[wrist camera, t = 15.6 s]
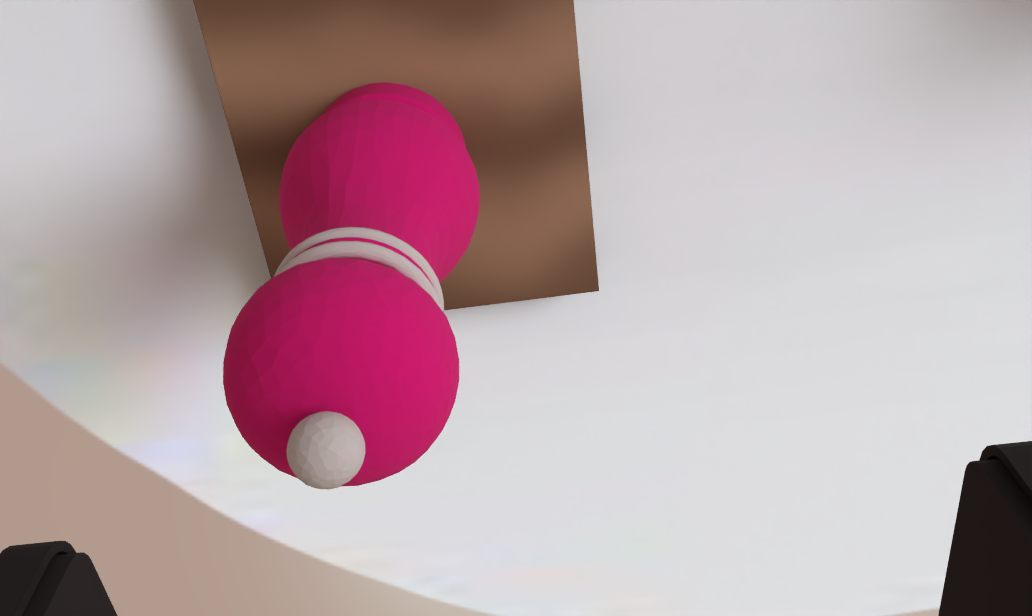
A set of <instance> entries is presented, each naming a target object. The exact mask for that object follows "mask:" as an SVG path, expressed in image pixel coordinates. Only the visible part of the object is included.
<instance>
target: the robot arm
mask: <svg viewBox="0 0 1032 616" xmlns="http://www.w3.org/2000/svg"><path fill="white" fill-rule="evenodd" d="M0 616H117V614H116V612H115V610H114V607H113V605H112V604H111V601H110V599H109V597H108V595H107V593H106V591H105V588H104V586H103V584H102V582H101V580H100V578H99V576H98V573H97V571H96V569H95V567H94V565H93V563H92V561H91V559H90V558H89V556H88V555H86V554H85V553H76V552H75V550H74V549H73V547H72V546H71V544H69V543H68V542H66V541H54V542H44V543H35V544H25V545H16V546H9V547H8V548H6V549H4V550H3V551H2V552H1V553H0ZM939 616H1032V441H1028V442H1019V443H1009V444H999V445H991V446H987V447H986V448H985V449H984V450H983V451H982V454H981V457H980V461H972V462H970V463H969V464H968V465H967V467H966V470H965V474H964V480H963V485H962V491H961V496H960V501H959V507H958V512H957V518H956V523H955V529H954V534H953V540H952V545H951V550H950V556H949V561H948V567H947V572H946V578H945V583H944V588H943V594H942V599H941V605H940V610H939Z"/></svg>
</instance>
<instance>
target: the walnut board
mask: <svg viewBox="0 0 1032 616" xmlns="http://www.w3.org/2000/svg"><path fill="white" fill-rule="evenodd" d="M193 1H194V4H195V8H196V12H197V15H198V19H199V22H200V26H201V29H202V33H203V37H204V40H205V44H206V47H207V51H208V54H209V58H210V61H211V65H212V69H213V72H214V76H215V79H216V83H217V86H218V90H219V94H220V97H221V101H222V104H223V108H224V111H225V115H226V118H227V122H228V126H229V129H230V133H231V136H232V140H233V143H234V147H235V151H236V154H237V158H238V161H239V165H240V168H241V172H242V176H243V179H244V183H245V186H246V190H247V193H248V197H249V200H250V204H251V208H252V211H253V215H254V218H255V222H256V225H257V229H258V233H259V236H260V240H261V243H262V247H263V250H264V254H265V257H266V261H267V265H268V268H269V272H270V275H271V279H272V278H273V277H274V275H275V273H276V271H277V269H278V267H279V265H280V264H281V262H282V261H283V260H284V258H285V257H286V256H287V254H288V253H289V252H290V251H291V249H290V247H289V245H288V242H287V239H286V236H285V233H284V229H283V225H282V221H281V216H280V210H279V189H280V184H281V179H282V174H283V169H284V165H285V162H286V160H287V157H288V154H289V152H290V150H291V148H292V147H293V145H294V143H295V141H296V140H297V139H298V137H299V136H300V135H301V134H302V133H303V131H304V130H305V129H306V128H307V127H308V126H309V125H311V124H312V123H313V122H314V121H315V120H316V119H318V118H319V117H320V116H321V115H323V114H324V112H325V111H326V110H327V108H328V107H329V106H330V105H331V104H332V103H334V102H335V101H336V100H337V99H338V98H339V97H341V96H342V95H344V94H345V93H347V92H349V91H351V90H353V89H355V88H358V87H361V86H365V85H368V84H373V83H384V82H389V83H396V84H402V85H407V86H410V87H413V88H416V89H419V90H421V91H423V92H425V93H427V94H429V95H430V96H432V97H433V98H435V99H436V100H437V101H439V102H440V103H441V104H442V105H443V106H444V107H445V108H446V109H447V110H448V112H449V113H450V114H451V115H452V116H453V117H454V119H455V121H456V122H457V124H458V126H459V128H460V129H461V131H462V134H463V137H464V141H465V144H466V149H467V151H468V153H469V156H470V158H471V160H472V162H473V165H474V167H475V170H476V174H477V177H478V181H479V190H480V205H479V214H478V219H477V223H476V227H475V230H474V233H473V236H472V239H471V242H470V245H469V247H468V248H467V250H466V252H465V253H464V255H463V256H462V258H461V259H460V261H459V262H458V263H457V265H456V266H455V267H454V269H453V270H452V271H451V272H450V274H449V275H448V276H447V277H446V278H444V279H443V280H442V281H441V282H440V286H441V289H442V294H443V299H444V310H450V309H458V308H466V307H474V306H482V305H490V304H498V303H506V302H514V301H522V300H530V299H538V298H546V297H554V296H562V295H570V294H578V293H586V292H594V291H599V286H598V275H597V264H596V252H595V241H594V229H593V218H592V207H591V195H590V184H589V173H588V161H587V150H586V138H585V127H584V116H583V104H582V93H581V81H580V70H579V59H578V47H577V36H576V25H575V13H574V2H573V0H193Z"/></svg>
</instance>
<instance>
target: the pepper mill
mask: <svg viewBox="0 0 1032 616" xmlns="http://www.w3.org/2000/svg"><path fill="white" fill-rule="evenodd" d="M479 205H480V190H479V181H478V177H477V174H476V170H475V167H474V165H473V162H472V160H471V158H470V156H469V153H468V151H467V149H466V144H465V141H464V137H463V134H462V131H461V129H460V128H459V126H458V124H457V122H456V121H455V119H454V117H453V116H452V115H451V114H450V113H449V112H448V110H447V109H446V108H445V107H444V106H443V105H442V104H441V103H440V102H439V101H437V100H436V99H435V98H433V97H432V96H430V95H429V94H427V93H425V92H423V91H421V90H419V89H416V88H413V87H410V86H407V85H402V84H396V83H389V82H384V83H373V84H368V85H365V86H361V87H358V88H355V89H353V90H351V91H349V92H347V93H345V94H344V95H342V96H341V97H339V98H338V99H337V100H336V101H335V102H334V103H332V104H331V105H330V106H329V107H328V108H327V110H326V111H325V112H324V114H323V115H321V116H320V117H319V118H318V119H316V120H315V121H314V122H313V123H312V124H311V125H309V126H308V127H307V128H306V129H305V130H304V131H303V133H302V134H301V135H300V136H299V137H298V139H297V140H296V141H295V143H294V145H293V147H292V148H291V150H290V152H289V154H288V157H287V160H286V162H285V165H284V169H283V174H282V179H281V184H280V189H279V210H280V216H281V221H282V225H283V229H284V233H285V236H286V239H287V242H288V245H289V247H290V249H291V251H290V252H289V253H288V254H287V256H286V257H285V258H284V260H283V261H282V262H281V264H280V265H279V267H278V269H277V271H276V273H275V275H274V277H273V278H272V279H270V280H269V281H268V282H267V283H265V284H264V285H263V286H262V287H260V288H259V289H258V290H257V291H256V292H255V293H254V295H253V296H252V297H251V298H250V300H249V301H248V302H247V303H246V305H245V306H244V307H243V308H242V310H241V311H240V313H239V315H238V316H237V318H236V320H235V322H234V324H233V326H232V328H231V332H230V335H229V339H228V342H227V347H226V352H225V357H224V367H223V384H224V390H225V396H226V402H227V406H228V408H229V410H230V412H231V415H232V417H233V419H234V421H235V424H236V426H237V428H238V430H239V431H240V433H241V435H242V437H243V438H244V439H245V441H246V442H247V443H248V444H249V446H250V447H251V448H252V449H253V450H254V451H255V452H256V453H258V454H259V455H260V456H261V457H262V458H263V459H264V460H266V461H267V462H268V463H270V464H271V465H273V466H274V467H275V468H277V469H278V470H280V471H282V472H284V473H287V474H289V475H291V476H294V477H296V478H298V479H299V480H301V481H302V482H303V483H305V484H306V485H309V486H311V487H314V488H318V489H333V488H337V487H340V486H358V485H362V484H366V483H370V482H374V481H378V480H381V479H384V478H386V477H388V476H391V475H393V474H396V473H398V472H400V471H402V470H403V469H405V468H406V467H408V466H409V465H411V464H413V463H414V462H415V461H416V460H417V459H419V458H420V457H421V456H422V455H423V454H424V453H425V452H426V451H427V450H428V449H429V447H430V446H431V445H432V444H433V442H434V441H435V440H436V439H437V437H438V436H439V434H440V433H441V431H442V430H443V428H444V426H445V424H446V422H447V420H448V418H449V416H450V413H451V410H452V408H453V405H454V402H455V399H456V393H457V388H458V383H459V358H458V352H457V347H456V341H455V337H454V334H453V332H452V329H451V327H450V325H449V322H448V320H447V317H446V316H445V314H444V299H443V294H442V289H441V286H440V282H441V281H442V280H443V279H444V278H446V277H447V276H448V275H449V274H450V272H451V271H452V270H453V269H454V267H455V266H456V265H457V263H458V262H459V261H460V259H461V258H462V256H463V255H464V253H465V252H466V250H467V248H468V247H469V245H470V242H471V239H472V236H473V233H474V230H475V227H476V223H477V219H478V214H479Z"/></svg>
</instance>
